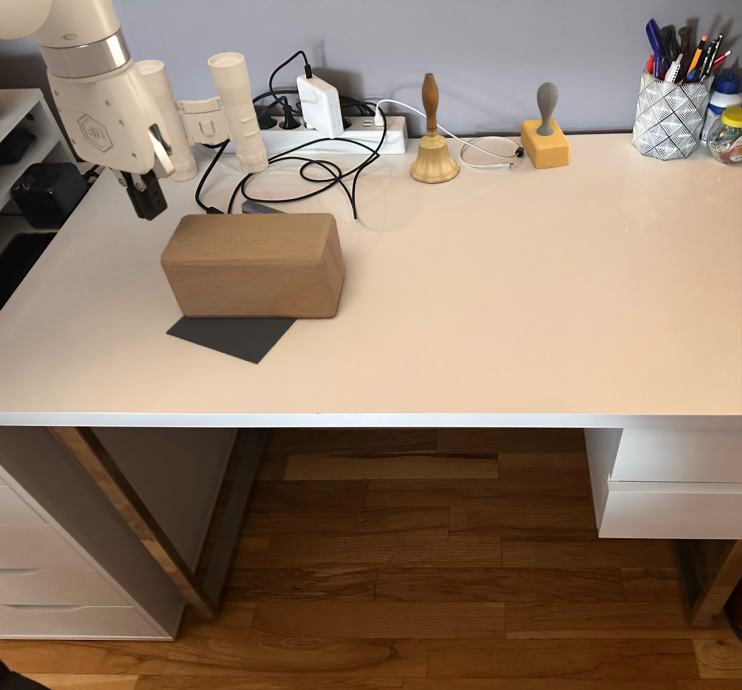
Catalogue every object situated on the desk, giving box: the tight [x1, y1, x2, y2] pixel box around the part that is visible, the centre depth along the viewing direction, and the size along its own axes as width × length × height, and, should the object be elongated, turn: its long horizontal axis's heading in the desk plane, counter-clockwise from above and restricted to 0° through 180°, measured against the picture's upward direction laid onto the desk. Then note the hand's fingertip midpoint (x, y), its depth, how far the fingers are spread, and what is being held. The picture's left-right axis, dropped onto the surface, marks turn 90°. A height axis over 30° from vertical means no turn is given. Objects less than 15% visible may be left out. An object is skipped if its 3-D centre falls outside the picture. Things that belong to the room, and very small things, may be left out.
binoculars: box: [133, 51, 269, 182], centre depth 107 cm, size 17×5×18 cm, turn 100°
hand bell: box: [408, 72, 460, 184], centre depth 106 cm, size 8×8×16 cm
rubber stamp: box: [520, 81, 571, 170], centre depth 110 cm, size 10×6×12 cm, turn 11°
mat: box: [165, 315, 299, 365], centre depth 87 cm, size 12×14×1 cm
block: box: [160, 212, 346, 318], centre depth 86 cm, size 10×10×20 cm
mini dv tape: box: [240, 199, 286, 214], centre depth 96 cm, size 8×2×6 cm, turn 60°
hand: (153, 212), depth 78 cm, fingers closed
